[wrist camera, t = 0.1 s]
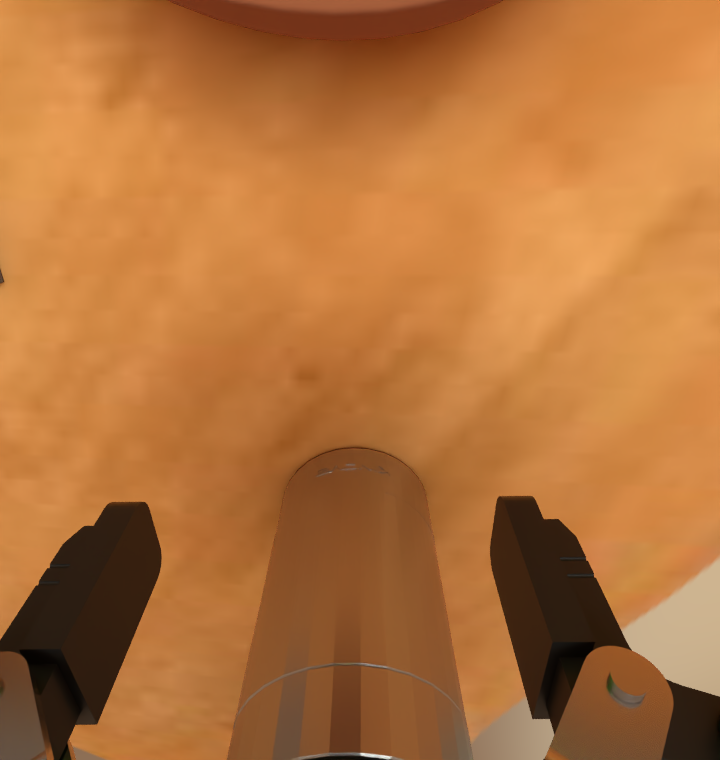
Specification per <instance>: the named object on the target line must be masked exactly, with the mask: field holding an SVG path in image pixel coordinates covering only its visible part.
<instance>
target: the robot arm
mask: <svg viewBox="0 0 720 760" xmlns="http://www.w3.org/2000/svg"><path fill="white" fill-rule="evenodd" d="M490 557H491V566H492V571H493V575H494V579H495V583H496V586H497V590H498V594H499V597H500V601H501V605H502V608H503V612H504V616H505V619H506V623H507V627H508V630H509V634H510V638H511V641H512V645H513V649H514V653H515V656H516V660H517V664H518V667H519V671H520V675H521V678H522V682H523V686H524V689H525V693H526V697H527V700H528V704H529V707H530V711H531V715H532V719H550V721H551V724H552V727H553V731H554V734H555V735H554V738H553V740H552V743H551V745H550V748H549V750H548V752H547V755H546V757H545V759H544V760H720V697H719V696H715V695H712V694H709V693H705V692H702V691H698V690H695V689H692V688H688V687H685V686H682V685H679V684H676V683H673V682H671V681H669V680H666V679H665V678H664V676H663V675H662V674H661V672H660V671H659V670H658V669H657V668H656V667H655V666H654V665H653V664H652V663H651V662H650V661H648V660H647V659H646V658H644V657H643V656H641V655H639V654H638V653H636V652H633V651H632V650H631V649H630V647H629V645H628V643H627V642H626V640H625V638H624V636H623V633H622V631H621V629H620V627H619V625H618V623H617V621H616V619H615V617H614V615H613V613H612V610H611V608H610V606H609V604H608V602H607V600H606V598H605V596H604V594H603V592H602V590H601V588H600V585H599V583H598V581H597V579H596V578H594V573H593V571H592V569H591V567H590V565H589V562H588V561H586V556H585V554H584V552H583V550H582V548H581V546H580V544H579V542H578V540H577V537H576V536H575V535H574V534H573V533H572V532H571V531H570V530H569V529H568V528H567V527H566V526H565V525H564V524H563V523H562V522H561V521H560V520H559V519H543V517H542V514H541V512H540V510H539V507H538V505H537V503H536V500H535V499H534V497H533V496H500V497H498V499H497V503H496V510H495V516H494V523H493V530H492V537H491V545H490ZM160 568H161V548H160V545H159V541H158V538H157V534H156V531H155V527H154V524H153V520H152V517H151V513H150V510H149V507H148V505H147V504H146V503H145V502H111V503H109V504H108V505H107V506H106V507H105V508H104V510H103V512H102V513H101V515H100V517H99V518H98V520H97V521H96V523H95V525H94V526H84V527H82V528H81V529H80V530H79V531H78V532H77V533H75V534H74V535H73V536H72V537H71V538H70V539H68V540H67V541H66V542H65V543H64V544H63V545H62V547H61V548H60V550H59V551H58V553H57V554H56V556H55V557H54V559H53V560H52V562H51V563H50V568H47V570H46V571H45V573H44V574H43V576H42V577H41V579H40V580H39V585H38V586H35V588H34V590H33V591H32V593H31V594H30V596H29V597H28V599H27V600H26V602H25V603H24V605H23V606H22V608H21V609H20V611H19V612H18V614H17V616H16V617H15V619H14V620H13V622H12V623H11V625H10V626H9V628H8V629H7V631H6V632H5V634H4V635H3V637H2V638H1V640H0V760H76V758H75V754H74V750H73V747H72V744H71V742H70V740H69V738H70V735H71V733H72V731H73V729H74V726H75V725H91V724H97V723H98V721H99V719H100V716H101V714H102V711H103V709H104V706H105V704H106V702H107V699H108V697H109V694H110V692H111V690H112V687H113V685H114V682H115V680H116V678H117V675H118V673H119V670H120V668H121V665H122V663H123V661H124V658H125V656H126V653H127V651H128V649H129V646H130V644H131V641H132V639H133V637H134V634H135V632H136V629H137V627H138V625H139V622H140V620H141V617H142V615H143V612H144V610H145V608H146V605H147V603H148V600H149V598H150V596H151V593H152V591H153V588H154V586H155V584H156V581H157V579H158V576H159V573H160ZM227 760H473V755H472V749H471V744H470V738H469V733H468V728H467V724H466V718H465V712H464V707H463V701H462V695H461V690H460V684H459V679H458V673H457V667H456V662H455V656H454V650H453V645H452V639H451V633H450V628H449V622H448V617H447V611H446V605H445V600H444V594H443V588H442V583H441V577H440V571H439V566H438V560H437V555H436V549H435V542H434V536H433V531H432V525H431V520H430V515H429V509H428V504H427V499H426V494H425V490H424V488H423V486H422V484H421V482H420V480H419V479H418V477H417V476H416V475H415V474H414V473H413V471H412V470H411V469H410V468H409V467H407V466H406V465H405V464H403V463H402V462H401V461H399V460H398V459H396V458H394V457H392V456H389V455H387V454H385V453H382V452H378V451H374V450H370V449H359V448H349V449H340V450H335V451H331V452H328V453H325V454H322V455H320V456H318V457H316V458H314V459H312V460H310V461H309V462H307V463H306V464H305V465H304V466H302V467H301V468H300V469H299V470H298V471H297V472H296V473H295V475H294V476H293V477H292V479H291V480H290V482H289V484H288V486H287V488H286V491H285V493H284V498H283V503H282V507H281V512H280V517H279V521H278V526H277V530H276V534H275V538H274V543H273V547H272V552H271V557H270V561H269V566H268V570H267V575H266V580H265V584H264V589H263V593H262V598H261V603H260V607H259V612H258V616H257V621H256V626H255V630H254V635H253V639H252V644H251V649H250V653H249V658H248V662H247V667H246V672H245V676H244V681H243V685H242V690H241V695H240V699H239V704H238V708H237V713H236V718H235V722H234V727H233V733H232V738H231V743H230V747H229V752H228V756H227Z"/></svg>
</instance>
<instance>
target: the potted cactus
mask: <svg viewBox="0 0 720 760" xmlns="http://www.w3.org/2000/svg"><path fill="white" fill-rule="evenodd" d="M168 1H170V2H173V3H175V4H177V5H180V6H183V7H185V8H188V9H191V10H193V11H196V12H199V13H201V14H204V15H207V16H209V17H212V18H214V19H217V20H221V21H225V22H228V23H232V24H236V25H239V26H243V27H246V28H250V29H254V30H257V31H263V32H268V33H274V34H280V35H286V36H292V37H297V38H309V39H324V40H340V41H341V40H362V39H381V38H387V37H393V36H399V35H405V34H411V33H417V32H422V31H425V30H429V29H432V28H435V27H439V26H442V25H445V24H449V23H452V22H455V21H459V20H461V19H463V18H466V17H468V16H470V15H472V14H475V13H477V12H479V11H481V10H484V9H486V8H488V7H490V6H493V5H495V4H497V3H499V2H501V1H502V0H168Z"/></svg>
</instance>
